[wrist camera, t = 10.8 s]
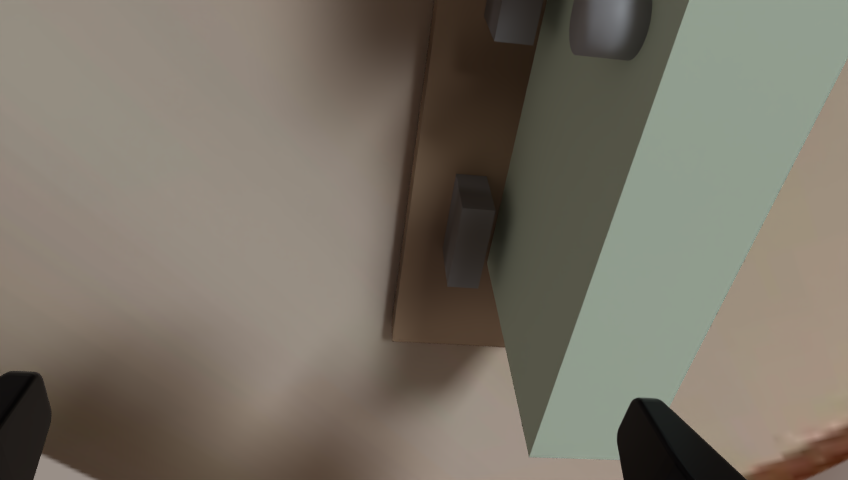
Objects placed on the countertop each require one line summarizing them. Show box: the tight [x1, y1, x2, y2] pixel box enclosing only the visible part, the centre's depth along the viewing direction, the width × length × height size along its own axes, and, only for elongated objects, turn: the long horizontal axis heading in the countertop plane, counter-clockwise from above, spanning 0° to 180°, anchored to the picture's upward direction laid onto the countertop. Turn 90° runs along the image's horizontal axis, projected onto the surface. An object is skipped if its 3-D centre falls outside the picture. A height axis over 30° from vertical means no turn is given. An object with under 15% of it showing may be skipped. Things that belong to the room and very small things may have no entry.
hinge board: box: [392, 0, 547, 347], centre depth 20 cm, size 20×9×3 cm, turn 173°
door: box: [487, 0, 848, 460], centre depth 17 cm, size 12×4×8 cm, turn 173°
